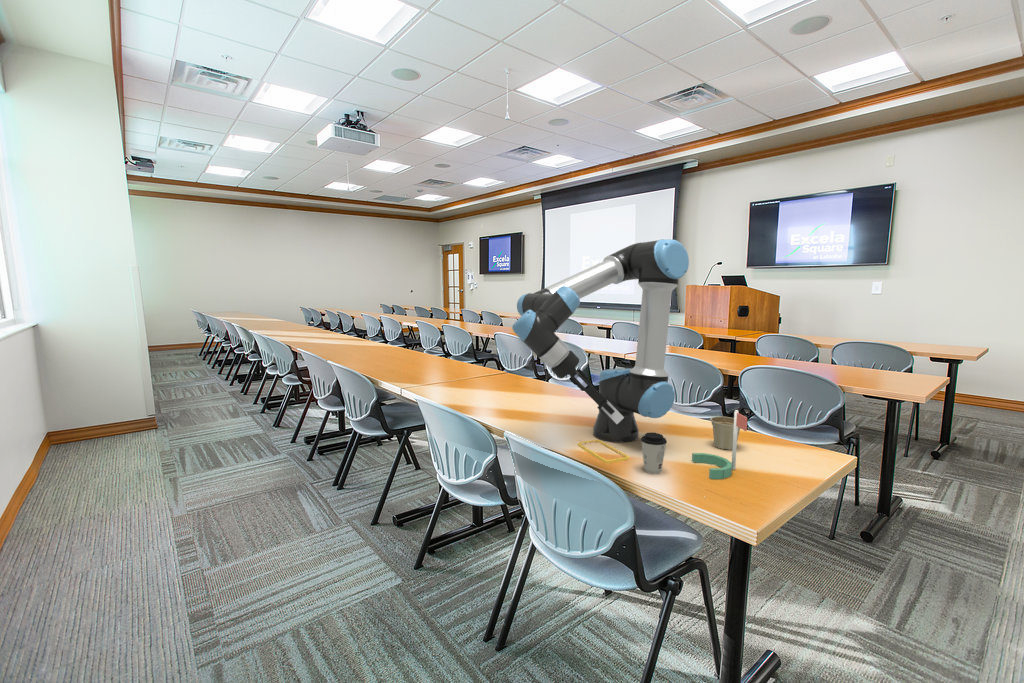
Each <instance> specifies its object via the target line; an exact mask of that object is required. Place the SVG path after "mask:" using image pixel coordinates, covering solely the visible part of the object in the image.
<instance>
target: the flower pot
mask: <svg viewBox="0 0 1024 683" xmlns="http://www.w3.org/2000/svg"><path fill="white" fill-rule="evenodd" d="M709 420H710V422H711V425H712V432H713V433H712V434H713V444H714V447H715V446H716V448H717V447H718V449H720V448H721V450H728V451H732V448H733V430H734V417H730V416H729V417H728V416H713V417H711V418H710V419H709ZM741 430H742V429H741V428H739V427H738V432H737V441H738V440H739V435H740V431H741Z"/></svg>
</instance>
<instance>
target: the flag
mask: <svg viewBox="0 0 1024 683" xmlns="http://www.w3.org/2000/svg"><path fill="white" fill-rule="evenodd" d="M733 414H734V416H733V418H734V430H733V448H732V450H731V452H732V453H731V463H732V470H733V471H734V470H736V465H737V446H738V440H737V432H738V427H739V428H741V429H740V430H743V431H744V432H747V430H748V417H746V416H745V415H743V414H742V413H739V409H735V410H734V413H733Z"/></svg>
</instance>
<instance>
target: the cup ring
mask: <svg viewBox="0 0 1024 683" xmlns="http://www.w3.org/2000/svg"><path fill="white" fill-rule="evenodd" d="M692 461H693V462H697V463H696V464H708V465H714V466H716V467H715V468H714V467H712V468H709V470H708V478H709V479H710V480H725V479H727V477H728V478H730V476H731V477H732V472H733V471H732V470H733V469H732V461H730V460H729V459H727V458H726V457H722V456H720V455H716V454H711V453H705V452H692V453H691V462H692ZM693 462H692V463H693ZM721 467H722V468H721ZM724 478H725V479H724Z"/></svg>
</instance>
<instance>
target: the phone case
mask: <svg viewBox="0 0 1024 683" xmlns="http://www.w3.org/2000/svg"><path fill="white" fill-rule="evenodd" d="M593 442H595V443H598V442H599V444H601V445H602V446H604V445H605V446H604V447H606V446H607V447H606V448H608V449H610V450H611V449H612V450H611V451H613V450H614V451H613V452H615V451H616V453H617V454H619V455H620V454H621V456H622V455H623V456H622V457H620V458H615V459H613V458H612V459H605V458H604V457H602V456H601V455H599V454H597V453H595V452H594V451H593V450H590V449H589V448H587V447H586V446H584V445H586V444H587V443H593ZM582 444H584V445H582ZM577 446H578V447H579V448H580V447H581V448H580V449H582V450H584V452H587V453H588V454H590V455H591V456H593V457H595V459H598V460H599V461H601V462H602V463H605V464H614V462H615V463H619V461H621V462H625V461H624V460H627V461H629V460H628V459H630V456H629V455H627V454H626V453H623V452H622V451H620V450H619V449H616V448H614V447H613V446H611V445H610V444H607V443H606V442H604V441H603V440H601V439H593V440H586V441H581V442H580V441H579V442H577Z"/></svg>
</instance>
